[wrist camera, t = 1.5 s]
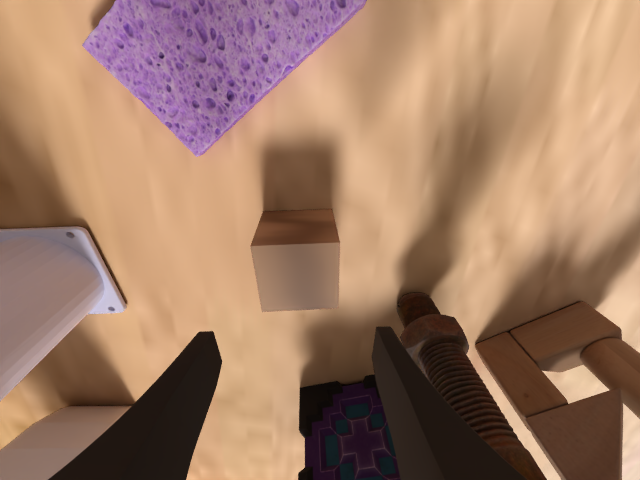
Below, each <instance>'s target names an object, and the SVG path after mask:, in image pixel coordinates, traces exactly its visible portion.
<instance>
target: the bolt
mask: <svg viewBox="0 0 640 480" xmlns="http://www.w3.org/2000/svg"><path fill="white" fill-rule="evenodd" d="M398 304H399V305H397V312H398V314H399V316H400V318H401V321H402V323H403V325H404V328H405V330H404V332H403V333H402V335H401V337H400V338H401V341H402V343H403V346H404V348H405V349H406V350H407V352H408V353H409V355H410V356H411V357H412V359H413V360H414V361H415V363H416V364H417V365H418V367H419V368H420V369H421V370H423V372H424V375H425V376H426V377H427V378H428V380H429V381H430V382H431V383H432V385H433V386H434V387H435V388H436V389H437V391H438V392H439V393H440V394H441V395H442V396H443V398H444V399H445V400H446V401H447V402H448V403H449V404H450V405H451V407H452V408H453V409H454V410H455V411H456V412H457V413H458V414H459V415H460V416H461V417H462V418H463V419H464V420H465V422H466V423H467V424H468V425H469V426H470V427H471V428H472V429H473V430H474V431H475V432H476V433H477V434H478V435H479V436H480V437H481V438H482V439H484V440H485V441H486V442H487V443H488V444H489V445H490V446H491V447H492V448H493V449H494V450H495V451H496V452H497V453H498V454H499V455H501V456H502V457H503V458H504V459H505V460H506V461H507V462H508V463H509V464H510V465H511V466H513V467H514V468H515V469H516V470H517V471H518V472H519V473H520V474H522V475H523V476H524V477H525V478H526V479H527V480H547V479H546V478H545V476H544V474H543V473H542V471H541V470H540V468H539V467H538V465H537V463H536V462H535V460H534V459H533V457H532V456H531V454H530V452H529V451H528V450H527V449H525V448H524V446H523V445H522V443H521V441H519V440H518V437H517V435H516V434H515V433H514V432H513V428H512V427H511V426H510V425H509V423H508V421H507V419H505V416H504V414H503V413H502V412H501V410H500V408H499V406H497V403H496V402H495V401H494V399H493V397H492V395H491V394H490V393H489V391H488V389H487V388H486V386H485V384H484V383H483V381H482V379H481V378H480V376H479V375H478V374H477V372H476V370H475V368H474V367H473V365H472V364H471V361H470V360H469V359H468V357H467V355H466V354H467V352H468V349H469V345H468V341H467V339H466V336H465V334H464V332H463V330H462V328H461V326H460V325H459V323H458V322H457V320H456V319H455V318H454V317H450V316H446V315H441V314H440V312H439V310H438V309H437V307H436V306H435V304H434V302H433V301H432V299H431V298H430V297H429V296H428V295H426V294H424V293H410V294H406V295H404V296H403V297H402V298H401V299H400V301H399V303H398Z"/></svg>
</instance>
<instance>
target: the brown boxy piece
mask: <svg viewBox="0 0 640 480" xmlns="http://www.w3.org/2000/svg"><path fill="white" fill-rule="evenodd" d="M251 252H252V257H253V263H254V269H255V275H256V280H257V286H258V292H259V298H260V303H261V309H262V312H271V311H291V310H311V309H332V308H338V299H339V258H340V241H339V237H338V233H337V228H336V224H335V220H334V216H333V212H332V209H319V210H291V211H263V213H262V216H261V219H260V221H259V224H258V227H257V230H256V232H255V235H254V238H253V241H252V243H251Z"/></svg>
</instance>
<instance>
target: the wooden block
mask: <svg viewBox="0 0 640 480" xmlns="http://www.w3.org/2000/svg"><path fill="white" fill-rule="evenodd" d="M475 347H476V350H477V352H478V354H479V356H480V358H481V360H482V362H483V363H484V365H485V366H486V368H487V369H488V371H489V372H490V374H491V375H492V377H493V378H494V380H495V381H496V383H497V384H498V386H499V387H500V389H501V390H502V392H503V393H504V395H505V396H506V398H507V399H508V401H509V402H510V404H511V405H512V407H513V408H514V410H515V411H516V413H517V414H518V416H519V417H520V419H521V420H522V422H523V423H524V424H525V426H526V427H527V429H528V430H529V431H531V433H532V435H533V437H534V439H535V440H536V442H537V443H538V445H539V446H540V448H541V449H542V451H543V452H544V454H545V455H546V457H547V458H548V460H549V461H550V463H551V464H552V466H553V467H554V469H555V470H556V472H557V473H558V475H559V476H560V478H561V479H562V480H622V439H623V403H624V404H625V405H626V406H627V407H628V408H629V409H630V410H631V411H632V412H633V413H634V414H635V415H636V416H637V417H638V418H639V419H640V353H639V352H637V351H636V350H635V349H633V348H632V347H631V346H630V345H628V344H627V343H626V342H624V341H622V334H621V329H620V328H619V327H618V326H617V325H615V324H614V323H613V322H611V321H610V320H609V319H607V318H606V317H604V316H603V315H602V314H600V313H599V312H598V311H596V310H595V309H594V308H592V307H591V306H589V305H588V304H587V303H585V302H583V301H582V302H578V303H576V304H574V305H571V306H569V307H566V308H564V309H561V310H559V311H556V312H554V313H552V314H549V315H547V316H544V317H542V318H539V319H537V320H534V321H532V322H530V323H527V324H525V325H522V326H520V327H517V328H515V329H513V330H511V331H510V334H509V333H507V332H504V333H501V334H499V335H497V336H494V337H492V338H489V339H487V340H484V341H482V342H479V343H477V344H476V345H475ZM580 365H584V366H585V367H587V368H588V369H589V370H590V371H591V372H592V373H593V374H594V375H595V376H596V377H597V378H598V379H599V380H600V381H601V382H602V383H603V384H604V385H605V386H606V387H607V388H608V389H609V390H610V391H607V392H603V393H600V394H597V395H594V396H591V397H588V398H585V399H582V400H579V401H576V402H573V403H570V404H568V402H567V400H566V398H565V397H564V396H563V395H562V394H561V393H560V391H559V390H558V389H557V388H556V387H555V386H554V384H553V383H552V382H551V381H550V380H549V379H548V378H547V376H546V375H545V374H544V373H543V372H542V371H552V372H564V371H566V370H569V369H572V368H575V367H578V366H580ZM541 370H542V371H541Z"/></svg>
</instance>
